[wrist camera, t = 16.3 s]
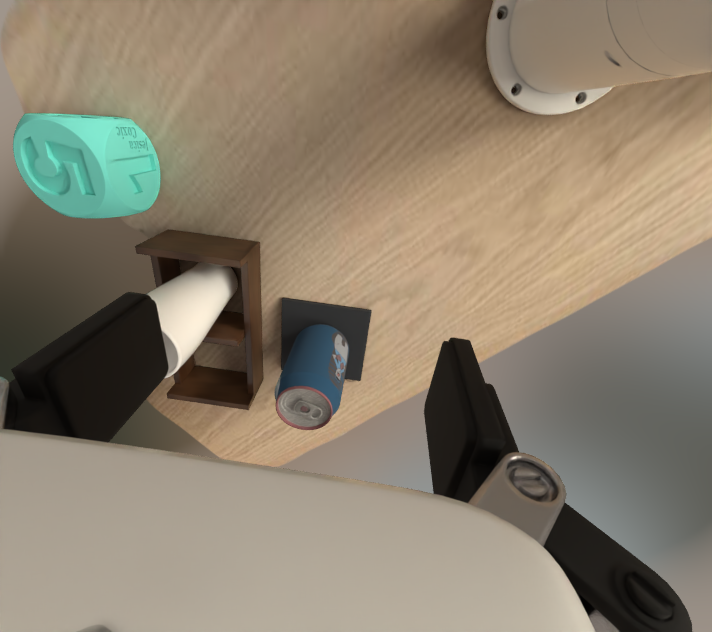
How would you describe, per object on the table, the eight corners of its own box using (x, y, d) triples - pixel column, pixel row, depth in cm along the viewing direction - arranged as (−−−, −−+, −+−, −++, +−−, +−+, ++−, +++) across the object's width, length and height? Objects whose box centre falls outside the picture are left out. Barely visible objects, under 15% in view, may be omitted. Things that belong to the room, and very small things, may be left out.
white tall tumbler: (237, 310, 44) (175, 391, 31) (185, 289, 43) (99, 363, 30) (251, 266, 41) (188, 334, 28) (195, 241, 40) (103, 301, 27)
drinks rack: (259, 241, 39) (240, 260, 34) (263, 379, 50) (248, 410, 44) (168, 229, 40) (134, 246, 34) (190, 369, 50) (167, 398, 45)
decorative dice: (168, 203, 38) (119, 222, 31) (97, 197, 38) (33, 214, 31) (151, 119, 34) (90, 119, 27) (72, 113, 34) (-7, 112, 27)
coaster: (371, 309, 43) (371, 311, 42) (360, 378, 48) (360, 381, 48) (282, 297, 43) (281, 299, 42) (282, 367, 48) (281, 369, 48)
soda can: (289, 349, 46) (259, 417, 36) (310, 310, 43) (284, 372, 32) (335, 371, 47) (320, 443, 37) (359, 334, 44) (350, 402, 34)
